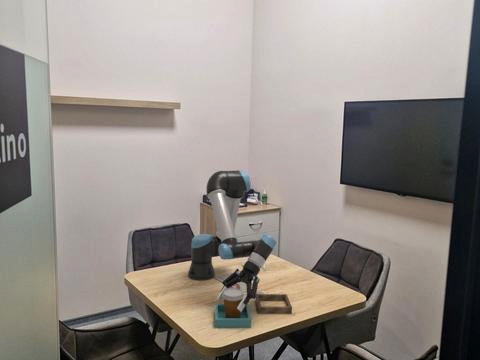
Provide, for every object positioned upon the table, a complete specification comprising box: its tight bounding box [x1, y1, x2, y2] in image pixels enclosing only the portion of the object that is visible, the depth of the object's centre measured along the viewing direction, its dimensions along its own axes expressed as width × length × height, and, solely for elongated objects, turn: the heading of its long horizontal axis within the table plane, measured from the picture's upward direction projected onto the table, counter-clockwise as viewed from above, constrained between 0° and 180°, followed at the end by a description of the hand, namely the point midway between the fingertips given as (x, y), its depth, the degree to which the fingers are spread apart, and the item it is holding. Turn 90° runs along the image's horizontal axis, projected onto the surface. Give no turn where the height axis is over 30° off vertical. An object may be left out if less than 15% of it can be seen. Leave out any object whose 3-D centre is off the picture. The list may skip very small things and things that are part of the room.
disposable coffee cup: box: [222, 288, 245, 318], centre depth 183 cm, size 10×10×12 cm
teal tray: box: [214, 303, 252, 329], centre depth 184 cm, size 15×15×4 cm
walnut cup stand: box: [255, 293, 293, 315], centre depth 198 cm, size 15×15×3 cm
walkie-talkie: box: [229, 283, 241, 290], centre depth 209 cm, size 9×4×20 cm
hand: (228, 305), depth 182 cm, fingers open, 13 cm apart
